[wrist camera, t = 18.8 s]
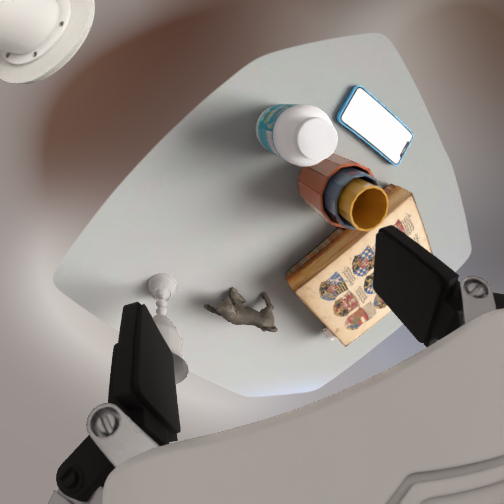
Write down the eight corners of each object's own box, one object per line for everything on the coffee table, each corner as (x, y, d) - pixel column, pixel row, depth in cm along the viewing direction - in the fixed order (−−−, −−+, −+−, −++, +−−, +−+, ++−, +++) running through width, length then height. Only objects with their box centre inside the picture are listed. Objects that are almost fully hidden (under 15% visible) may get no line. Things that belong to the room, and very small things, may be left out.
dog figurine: (274, 294, 53) (287, 320, 47) (260, 317, 55) (271, 344, 49) (214, 278, 49) (220, 305, 42) (202, 304, 51) (206, 332, 44)
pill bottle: (293, 97, 37) (339, 96, 26) (308, 142, 41) (356, 159, 30) (246, 114, 37) (274, 118, 26) (264, 160, 41) (298, 183, 30)
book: (332, 337, 64) (422, 262, 60) (343, 356, 59) (438, 276, 54) (273, 278, 52) (390, 181, 48) (284, 299, 46) (412, 193, 42)
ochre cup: (308, 168, 42) (348, 191, 32) (343, 161, 43) (389, 182, 32) (312, 204, 45) (350, 236, 35) (345, 196, 46) (388, 225, 35)
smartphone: (358, 83, 37) (414, 135, 43) (354, 83, 38) (410, 134, 44) (337, 119, 39) (397, 168, 45) (333, 119, 40) (393, 166, 46)
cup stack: (294, 158, 42) (326, 174, 33) (347, 149, 43) (387, 163, 34) (301, 213, 47) (330, 242, 38) (350, 201, 48) (386, 226, 39)
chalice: (134, 277, 45) (120, 359, 30) (170, 261, 45) (169, 342, 30) (156, 308, 49) (153, 391, 34) (189, 294, 49) (198, 376, 34)
